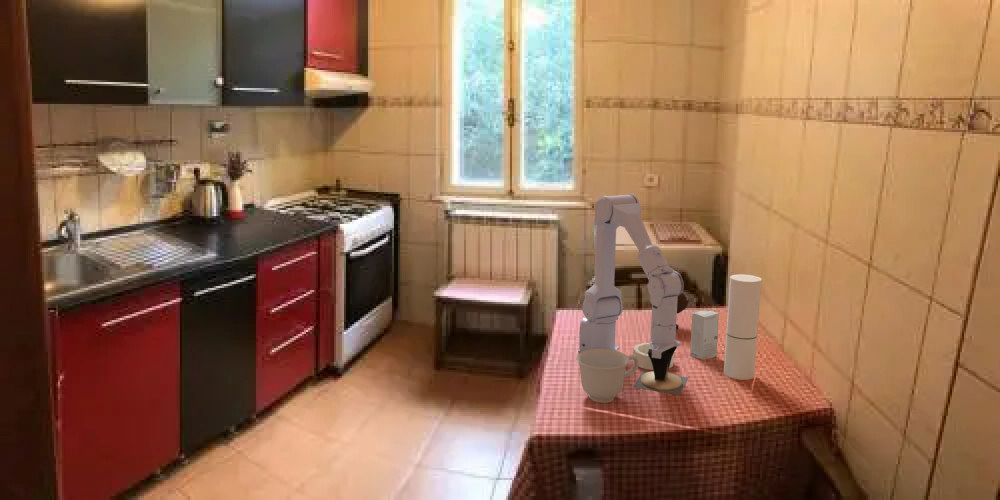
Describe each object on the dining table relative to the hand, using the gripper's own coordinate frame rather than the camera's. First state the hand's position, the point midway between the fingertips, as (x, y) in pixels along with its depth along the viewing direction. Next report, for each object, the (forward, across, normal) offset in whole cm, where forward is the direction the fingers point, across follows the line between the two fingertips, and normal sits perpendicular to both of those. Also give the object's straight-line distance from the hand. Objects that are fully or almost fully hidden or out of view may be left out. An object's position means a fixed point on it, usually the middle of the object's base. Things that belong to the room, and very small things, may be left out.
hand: (661, 376), depth 160 cm
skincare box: (+2, +23, -6) cm, 24 cm away
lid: (+1, 0, 0) cm, 1 cm away
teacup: (+2, -13, +10) cm, 16 cm away
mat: (+2, 0, 0) cm, 2 cm away
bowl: (+2, +12, +4) cm, 13 cm away
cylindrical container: (+2, +13, -16) cm, 21 cm away
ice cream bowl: (+2, +44, +6) cm, 45 cm away
